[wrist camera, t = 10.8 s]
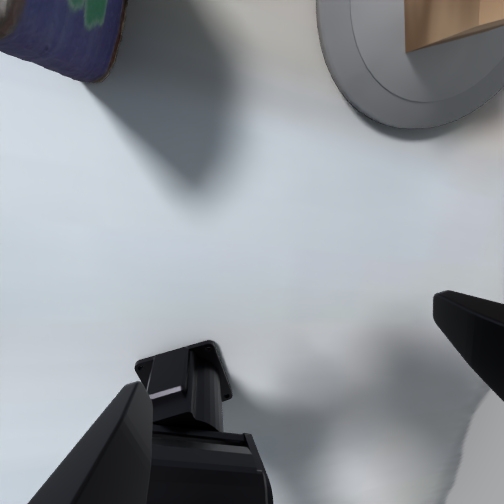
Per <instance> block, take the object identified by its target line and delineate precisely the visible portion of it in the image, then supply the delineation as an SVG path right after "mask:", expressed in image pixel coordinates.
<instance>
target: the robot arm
mask: <svg viewBox="0 0 504 504" xmlns="http://www.w3.org/2000/svg"><path fill="white" fill-rule="evenodd" d="M433 318H434V321H435V323H436V324H437V326H438V327H439V328H440V329H441V331H442V332H443V333H444V334H445V336H446V337H447V338H448V339H449V341H450V342H451V343H452V344H453V346H454V347H455V348H456V350H457V351H458V352H459V353H460V355H461V356H462V357H463V358H464V360H465V361H466V362H467V363H468V364H469V366H470V367H471V368H472V369H473V370H474V371H475V372H476V373H477V374H478V375H479V376H480V377H481V378H482V380H483V381H484V382H485V383H486V384H487V385H488V386H489V387H490V388H491V389H492V390H493V391H494V392H495V393H496V394H497V395H498V396H499V397H500V398H501V399H502V400H503V401H504V304H501V303H497V302H494V301H490V300H486V299H482V298H478V297H474V296H470V295H466V294H462V293H458V292H454V291H450V290H446V291H443V292H439V293H436V294H435V295H434V297H433ZM207 346H210V348H207ZM140 366H144V367H140ZM135 371H136V373H137V375H138V377H139V378H140V380H141V382H142V383H141V382H140V381H137V382H133V383H130V384H127V385H125V386H124V387H123V388H122V390H121V391H120V392H119V393H118V394H117V396H116V397H115V398H114V399H113V400H112V402H111V403H110V404H109V405H108V407H107V408H106V409H105V410H104V411H103V413H102V414H101V415H100V416H99V417H98V419H97V420H96V421H95V422H94V424H93V425H92V426H91V427H90V428H89V430H88V431H87V432H86V433H85V434H84V436H83V437H82V438H81V439H80V441H79V442H78V443H77V444H76V445H75V447H74V448H73V449H72V450H71V452H70V453H69V454H68V455H67V456H66V458H65V459H64V460H63V461H62V462H61V464H60V465H59V466H58V467H57V469H56V470H55V471H54V472H53V473H52V475H51V476H50V477H49V478H48V479H47V481H46V482H45V483H44V484H43V486H42V487H41V488H40V489H39V490H38V492H37V493H36V494H35V495H34V496H33V498H32V499H31V500H30V501H29V503H28V504H273V495H272V489H271V485H270V482H269V479H268V476H267V474H266V471H265V468H264V466H263V463H262V461H261V458H260V455H259V453H258V450H257V448H256V445H255V442H254V440H253V437H252V435H251V434H248V433H243V434H234V433H225V432H223V417H222V402H223V401H226V400H229V399H231V398H232V390H231V387H230V384H229V382H228V379H227V376H226V374H225V371H224V368H223V366H222V363H221V360H220V358H219V355H218V352H217V350H216V347H215V344H214V342H212V341H210V340H207V341H203V342H200V343H196V344H193V345H190V346H186V347H182V348H179V349H176V350H172V351H169V352H165V353H162V354H158V355H155V356H152V357H148V358H145V359H141V360H139V361H137V362H136V365H135Z"/></svg>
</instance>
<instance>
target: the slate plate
mask: <svg viewBox="0 0 504 504" xmlns="http://www.w3.org/2000/svg"><path fill="white" fill-rule="evenodd" d="M316 14H317V28H318V33H319V39H320V45H321V48H322V52H323V55H324V59H325V62H326V64H327V67H328V69H329V71H330V74H331V76H332V78H333V80H334V81H335V83H336V85H337V86H338V88H339V90H340V91H341V92H342V94H343V95H344V96H345V97H346V99H347V100H348V101H349V102H350V103H351V104H352V105H353V106H354V107H355V108H356V109H357V110H358V111H359V112H361V113H362V114H364V115H365V116H367V117H368V118H370V119H372V120H374V121H376V122H379V123H381V124H384V125H388V126H391V127H397V128H430V127H435V126H440V125H444V124H447V123H450V122H453V121H456V120H458V119H460V118H462V117H464V116H466V115H468V114H469V113H471V112H473V111H474V110H476V109H477V108H479V107H480V106H482V105H483V104H484V103H485V102H487V101H488V100H489V99H490V98H492V97H493V96H494V95H495V94H496V93H497V92H498V91H499V90H500V89H501V88H502V87H503V86H504V26H502V27H499V28H496V29H493V30H490V31H487V32H483V33H480V34H476V35H472V36H468V37H465V38H461V39H457V40H453V41H449V42H446V43H442V44H438V45H434V46H430V47H427V48H423V49H419V50H415V51H412V52H408V53H405V19H404V0H316Z"/></svg>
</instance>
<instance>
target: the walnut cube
mask: <svg viewBox="0 0 504 504" xmlns="http://www.w3.org/2000/svg"><path fill="white" fill-rule="evenodd" d="M404 19H405V53H408V52H412V51H415V50H419V49H423V48H427V47H430V46H434V45H438V44H442V43H446V42H449V41H453V40H457V39H461V38H465V37H468V36H472V35H476V34H480V33H483V32H487V31H490V30H493V29H496V28H499V27H502V26H504V0H404Z"/></svg>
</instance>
